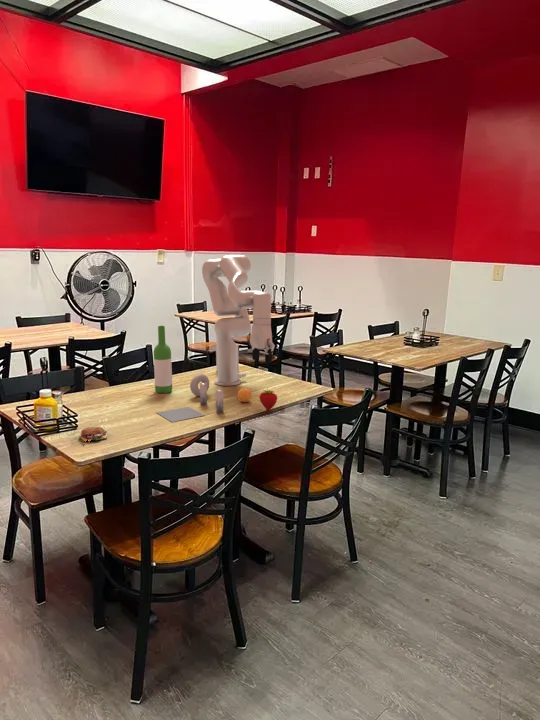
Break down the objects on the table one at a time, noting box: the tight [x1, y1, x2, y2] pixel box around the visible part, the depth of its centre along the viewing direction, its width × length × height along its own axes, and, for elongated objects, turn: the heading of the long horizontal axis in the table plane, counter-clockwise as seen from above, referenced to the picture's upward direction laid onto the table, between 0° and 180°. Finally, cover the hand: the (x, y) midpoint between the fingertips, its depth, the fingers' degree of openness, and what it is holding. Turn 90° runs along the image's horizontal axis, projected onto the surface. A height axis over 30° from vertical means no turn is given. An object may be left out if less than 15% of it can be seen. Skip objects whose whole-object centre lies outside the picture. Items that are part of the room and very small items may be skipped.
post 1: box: [199, 382, 208, 406], centre depth 222 cm, size 3×3×9 cm
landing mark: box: [156, 406, 206, 423], centre depth 210 cm, size 14×14×1 cm
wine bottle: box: [153, 325, 173, 394], centre depth 240 cm, size 8×8×30 cm
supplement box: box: [215, 343, 240, 373], centre depth 280 cm, size 9×9×15 cm
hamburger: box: [79, 426, 108, 442], centre depth 182 cm, size 14×14×6 cm
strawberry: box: [259, 389, 278, 412], centre depth 214 cm, size 6×8×10 cm
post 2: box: [215, 389, 224, 414], centre depth 211 cm, size 3×3×9 cm
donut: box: [189, 373, 210, 397], centre depth 235 cm, size 10×3×10 cm, turn 138°
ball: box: [237, 387, 253, 403], centre depth 226 cm, size 6×6×6 cm
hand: (262, 361), depth 228 cm, fingers open, 9 cm apart
